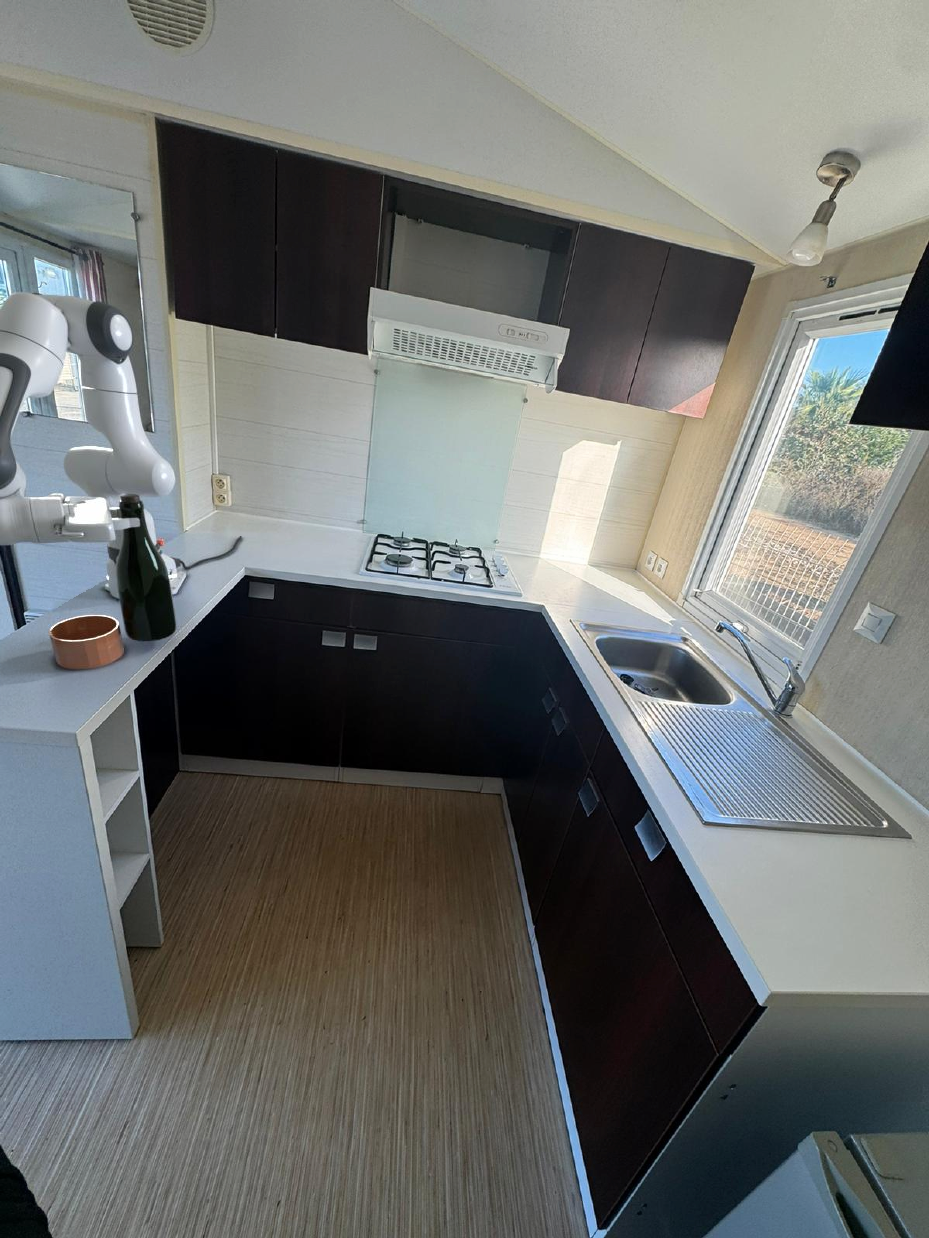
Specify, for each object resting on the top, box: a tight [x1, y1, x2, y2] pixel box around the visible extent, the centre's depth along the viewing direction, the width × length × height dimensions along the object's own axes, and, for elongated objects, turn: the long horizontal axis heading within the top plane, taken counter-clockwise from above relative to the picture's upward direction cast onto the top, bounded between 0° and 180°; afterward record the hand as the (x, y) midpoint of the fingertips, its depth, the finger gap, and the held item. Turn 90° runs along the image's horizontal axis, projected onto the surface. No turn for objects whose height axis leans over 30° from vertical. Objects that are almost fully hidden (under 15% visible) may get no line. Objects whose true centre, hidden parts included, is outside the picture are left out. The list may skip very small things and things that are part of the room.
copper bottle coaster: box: [48, 614, 125, 671], centre depth 107 cm, size 12×12×7 cm
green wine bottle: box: [116, 494, 178, 643], centre depth 108 cm, size 10×10×33 cm
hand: (138, 517), depth 104 cm, fingers closed on green wine bottle, 4 cm apart
